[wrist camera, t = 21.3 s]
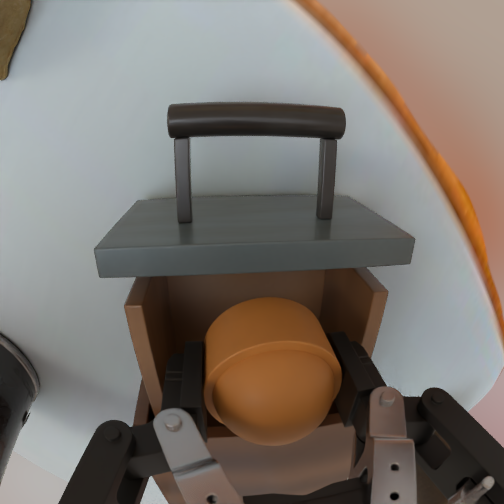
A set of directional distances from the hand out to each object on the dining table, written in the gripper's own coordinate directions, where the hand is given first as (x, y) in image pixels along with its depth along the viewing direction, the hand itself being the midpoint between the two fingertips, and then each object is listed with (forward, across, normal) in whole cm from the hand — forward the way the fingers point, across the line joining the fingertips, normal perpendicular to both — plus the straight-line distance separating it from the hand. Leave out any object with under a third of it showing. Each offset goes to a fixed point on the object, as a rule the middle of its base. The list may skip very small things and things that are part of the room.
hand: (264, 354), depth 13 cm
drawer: (+7, 0, 0) cm, 7 cm away
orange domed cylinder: (0, 0, 0) cm, 0 cm away
